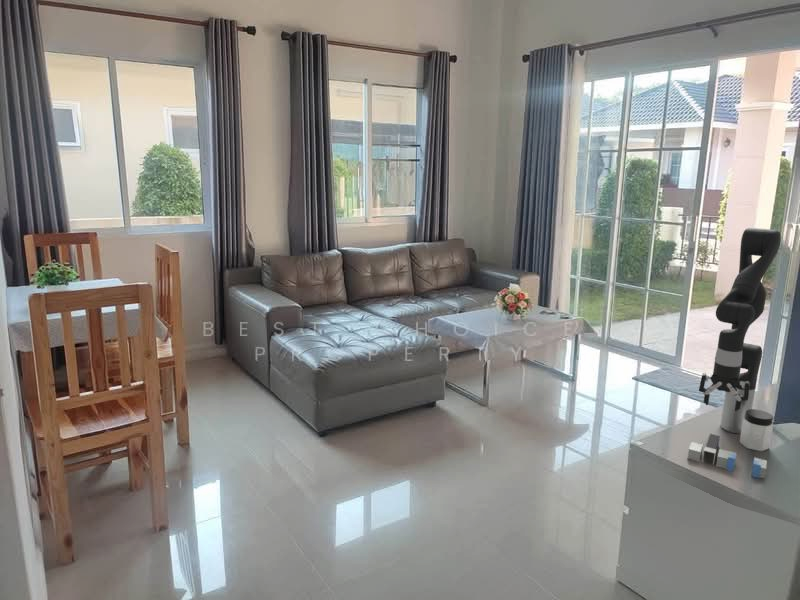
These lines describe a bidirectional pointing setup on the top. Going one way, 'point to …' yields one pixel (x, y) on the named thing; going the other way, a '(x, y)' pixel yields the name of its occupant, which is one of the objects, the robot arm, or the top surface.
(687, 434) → the top surface
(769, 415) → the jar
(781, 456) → the top surface
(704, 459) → the tall dark pillar
